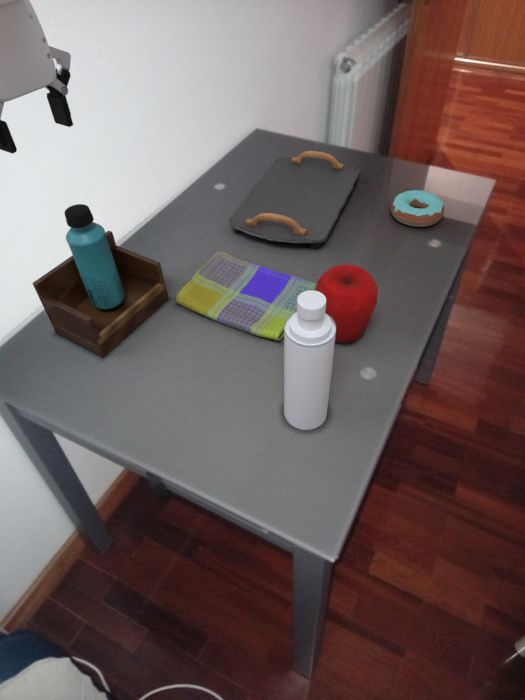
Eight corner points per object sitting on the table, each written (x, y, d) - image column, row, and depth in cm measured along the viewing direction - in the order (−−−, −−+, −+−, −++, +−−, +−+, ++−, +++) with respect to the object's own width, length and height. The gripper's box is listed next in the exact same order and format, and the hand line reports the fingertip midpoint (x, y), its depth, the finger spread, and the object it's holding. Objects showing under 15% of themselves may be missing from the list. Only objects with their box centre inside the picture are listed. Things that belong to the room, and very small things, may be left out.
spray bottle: (322, 393, 79) (333, 269, 61) (330, 427, 75) (346, 304, 56) (281, 398, 79) (280, 274, 61) (287, 433, 74) (289, 311, 56)
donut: (447, 209, 115) (452, 193, 112) (434, 235, 108) (439, 219, 105) (398, 198, 119) (400, 183, 116) (382, 223, 112) (385, 207, 109)
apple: (369, 356, 84) (381, 295, 75) (310, 350, 86) (314, 290, 76) (370, 314, 92) (381, 254, 82) (315, 310, 93) (319, 250, 83)
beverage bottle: (134, 298, 92) (106, 202, 78) (113, 320, 88) (79, 224, 74) (106, 289, 94) (74, 194, 80) (84, 311, 90) (46, 215, 76)
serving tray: (280, 162, 134) (280, 139, 129) (364, 174, 128) (367, 151, 123) (221, 239, 110) (219, 215, 105) (321, 260, 103) (323, 234, 99)
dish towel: (276, 350, 86) (275, 338, 84) (169, 303, 96) (167, 292, 93) (322, 293, 96) (323, 282, 94) (221, 256, 105) (220, 245, 103)
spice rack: (103, 358, 86) (82, 307, 77) (56, 333, 91) (31, 283, 82) (168, 299, 96) (157, 248, 87) (123, 280, 101) (108, 230, 92)
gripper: (24, -31, 62) (66, 111, 74) (-110, -3, 52) (-35, 155, 64) (65, -27, 59) (102, 120, 71) (-69, 4, 49) (1, 168, 61)
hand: (37, 137), depth 68 cm, fingers open, 9 cm apart
